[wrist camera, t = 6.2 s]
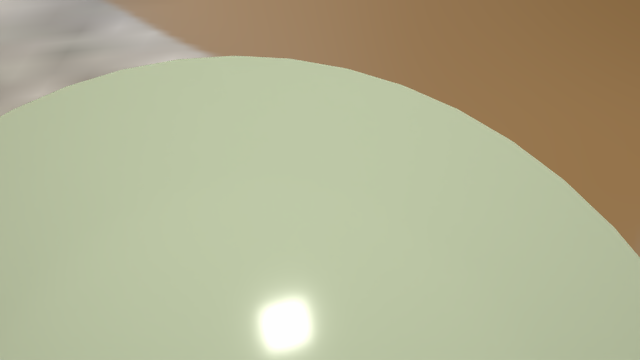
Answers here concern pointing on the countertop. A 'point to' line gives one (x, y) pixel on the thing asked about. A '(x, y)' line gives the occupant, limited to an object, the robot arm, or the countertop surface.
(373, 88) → the spice jar
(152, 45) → the countertop surface
